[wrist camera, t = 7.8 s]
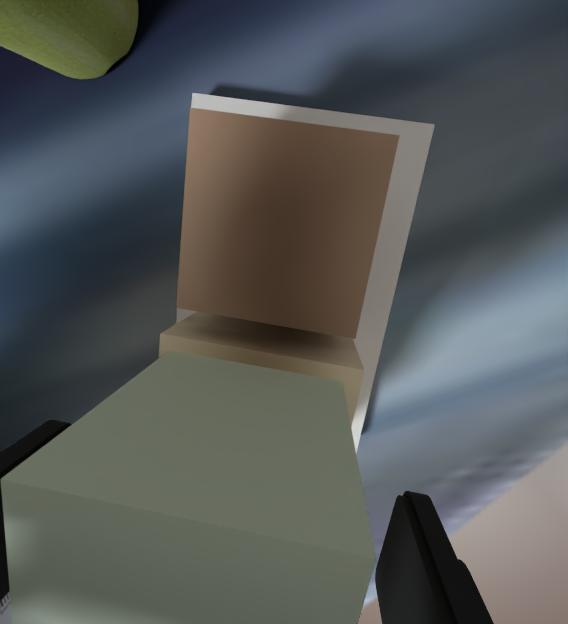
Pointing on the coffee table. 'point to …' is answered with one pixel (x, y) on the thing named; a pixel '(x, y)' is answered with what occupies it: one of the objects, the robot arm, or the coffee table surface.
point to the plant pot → (70, 33)
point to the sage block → (194, 504)
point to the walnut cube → (281, 219)
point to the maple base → (269, 349)
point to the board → (393, 219)
